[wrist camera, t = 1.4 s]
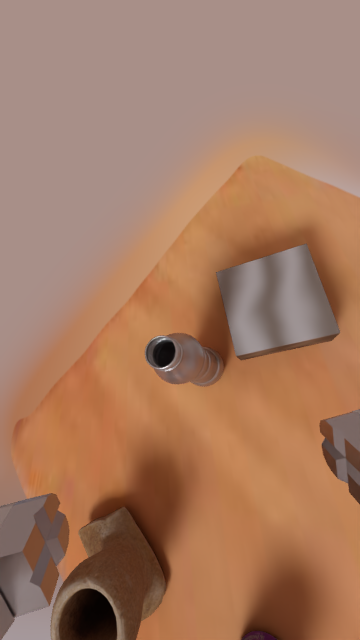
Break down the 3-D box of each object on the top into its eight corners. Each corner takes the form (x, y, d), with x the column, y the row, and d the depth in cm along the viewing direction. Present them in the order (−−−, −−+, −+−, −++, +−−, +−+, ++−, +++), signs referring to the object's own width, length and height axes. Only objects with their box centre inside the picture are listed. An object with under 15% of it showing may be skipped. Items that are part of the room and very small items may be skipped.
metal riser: (302, 261, 44) (306, 243, 39) (331, 340, 40) (340, 332, 34) (222, 285, 48) (216, 272, 43) (241, 360, 44) (236, 355, 38)
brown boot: (188, 579, 38) (140, 683, 25) (131, 627, 39) (54, 751, 26) (134, 482, 45) (71, 523, 31) (85, 525, 46) (4, 583, 32)
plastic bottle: (228, 385, 43) (193, 381, 25) (189, 387, 46) (131, 385, 27) (224, 347, 45) (190, 318, 27) (187, 351, 47) (132, 326, 29)
